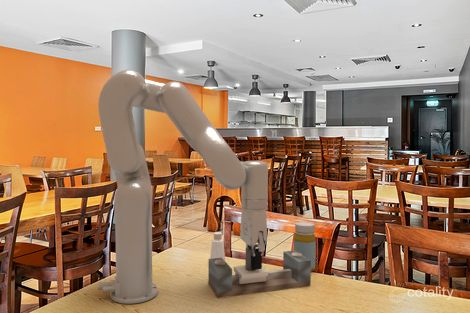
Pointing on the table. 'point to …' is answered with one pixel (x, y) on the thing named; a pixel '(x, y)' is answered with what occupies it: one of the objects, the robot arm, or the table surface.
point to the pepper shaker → (217, 246)
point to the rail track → (290, 277)
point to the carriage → (250, 271)
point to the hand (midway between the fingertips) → (253, 266)
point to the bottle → (305, 241)
